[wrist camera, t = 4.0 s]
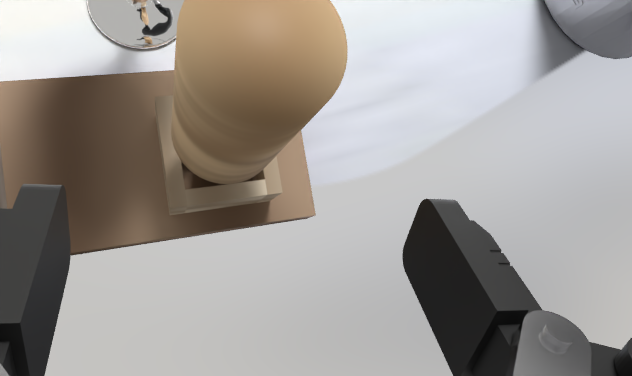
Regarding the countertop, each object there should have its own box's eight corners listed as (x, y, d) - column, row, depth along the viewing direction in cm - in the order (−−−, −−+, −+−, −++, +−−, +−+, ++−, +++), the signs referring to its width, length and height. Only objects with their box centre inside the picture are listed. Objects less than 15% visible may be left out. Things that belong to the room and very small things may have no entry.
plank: (282, 74, 26) (303, 39, 22) (306, 218, 25) (333, 208, 21) (-176, 107, 20) (-254, 69, 16) (-162, 291, 19) (-241, 296, 16)
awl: (248, 114, 23) (331, -41, 12) (262, 195, 23) (360, 116, 11) (164, 122, 22) (164, -39, 11) (176, 207, 22) (190, 133, 10)
